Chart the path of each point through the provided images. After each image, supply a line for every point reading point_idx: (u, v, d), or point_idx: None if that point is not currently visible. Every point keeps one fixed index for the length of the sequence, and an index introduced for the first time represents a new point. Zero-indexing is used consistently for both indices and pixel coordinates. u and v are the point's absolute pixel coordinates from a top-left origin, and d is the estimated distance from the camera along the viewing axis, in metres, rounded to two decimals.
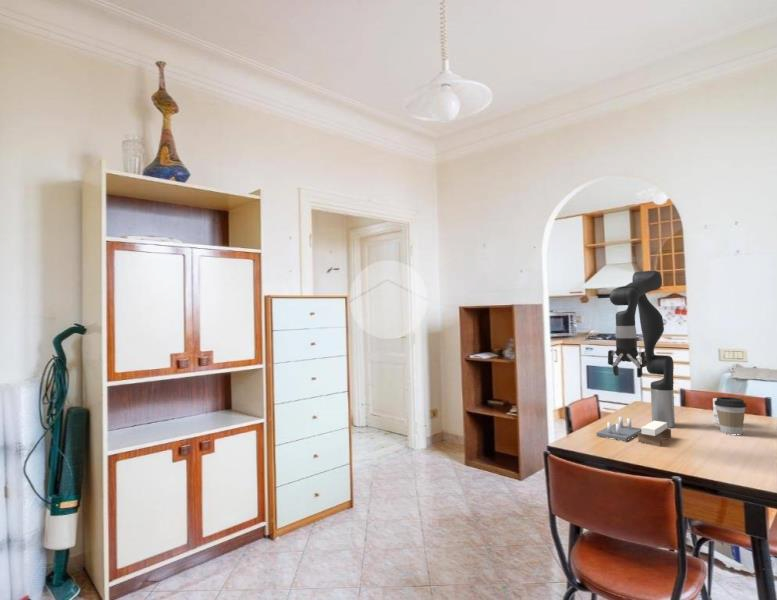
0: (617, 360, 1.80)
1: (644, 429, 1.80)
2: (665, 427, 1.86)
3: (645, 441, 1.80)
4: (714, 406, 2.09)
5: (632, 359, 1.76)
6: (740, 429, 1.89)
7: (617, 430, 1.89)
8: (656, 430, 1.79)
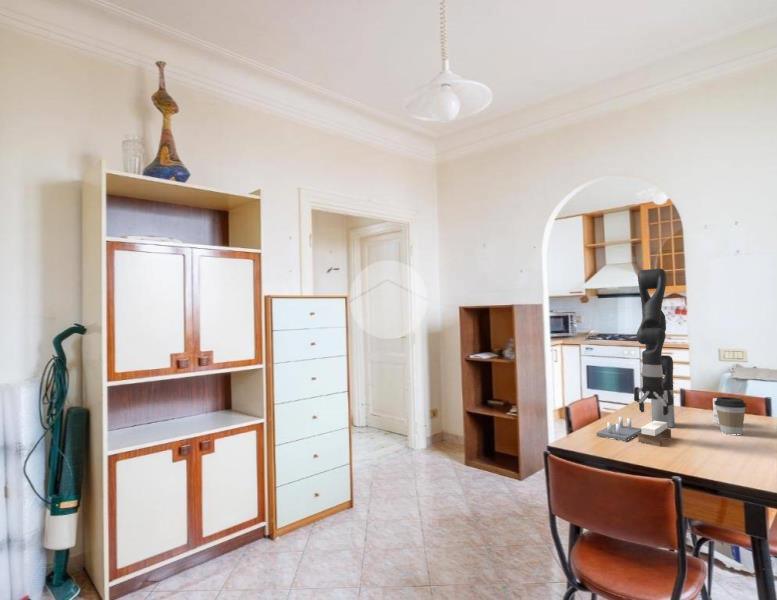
0: (643, 397, 1.86)
1: (644, 429, 1.80)
2: (665, 427, 1.86)
3: (645, 441, 1.80)
4: (714, 406, 2.09)
5: (658, 397, 1.82)
6: (740, 429, 1.89)
7: (617, 430, 1.89)
8: (656, 430, 1.79)
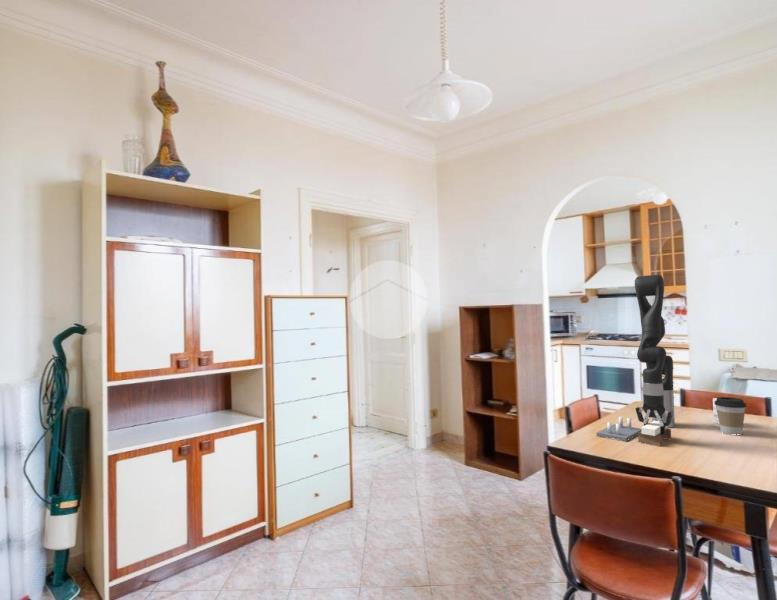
0: (646, 417, 1.85)
1: (644, 429, 1.80)
2: (665, 427, 1.86)
3: (645, 441, 1.80)
4: (714, 406, 2.09)
5: (658, 416, 1.82)
6: (740, 429, 1.89)
7: (617, 430, 1.89)
8: (656, 430, 1.79)
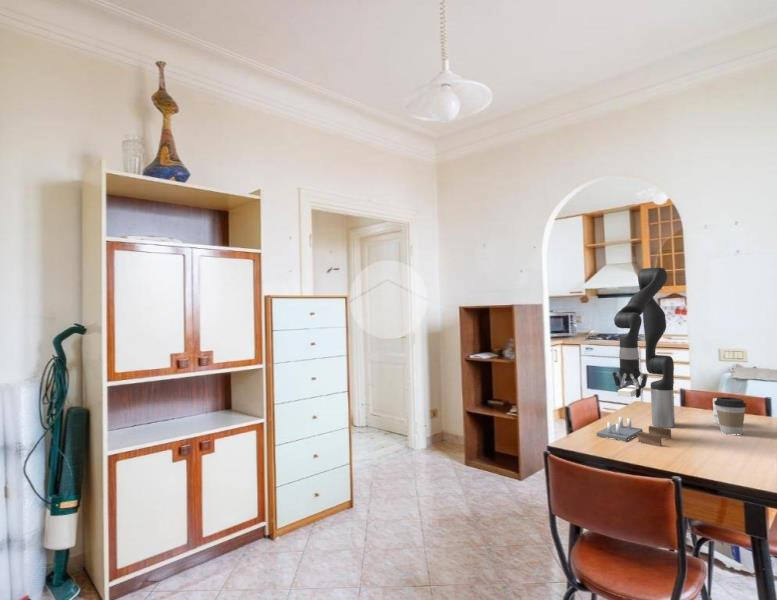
0: (623, 381, 1.92)
1: (620, 391, 1.87)
2: (641, 391, 1.93)
3: (645, 441, 1.80)
4: (714, 406, 2.09)
5: (633, 379, 1.89)
6: (740, 429, 1.89)
7: (617, 430, 1.89)
8: (632, 392, 1.85)
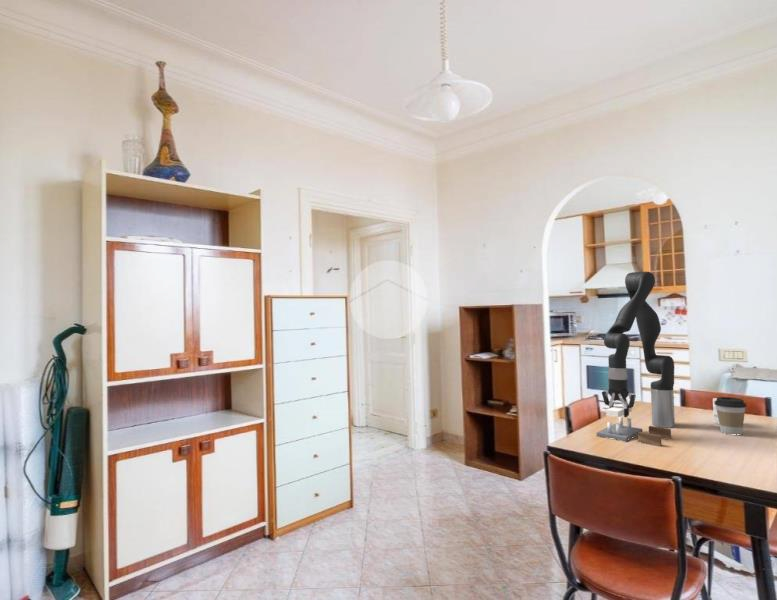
0: (611, 400, 1.96)
1: (608, 411, 1.91)
2: (629, 410, 1.97)
3: (645, 441, 1.80)
4: (714, 406, 2.09)
5: (622, 399, 1.92)
6: (740, 429, 1.89)
7: (617, 430, 1.89)
8: (619, 412, 1.89)
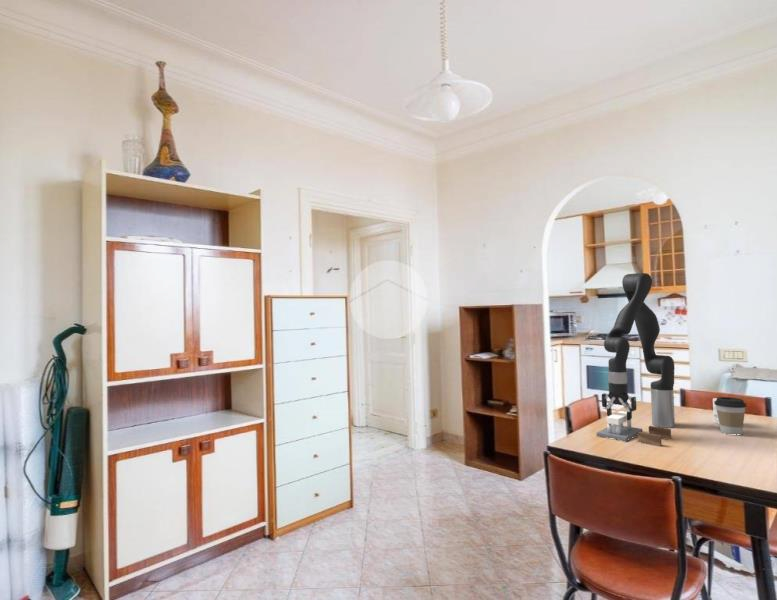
0: (610, 403, 1.96)
1: (609, 419, 1.90)
2: None
3: (645, 441, 1.80)
4: (714, 406, 2.09)
5: (623, 403, 1.92)
6: (740, 429, 1.89)
7: (617, 430, 1.89)
8: (620, 419, 1.89)
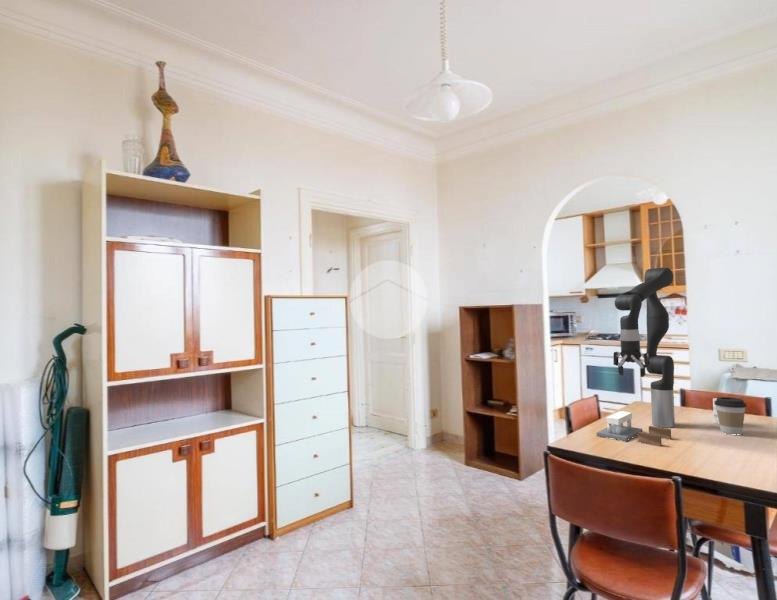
0: (622, 361, 1.95)
1: (609, 419, 1.90)
2: (630, 417, 1.97)
3: (645, 441, 1.80)
4: (714, 406, 2.09)
5: (636, 360, 1.91)
6: (740, 429, 1.89)
7: (617, 430, 1.89)
8: (620, 419, 1.89)
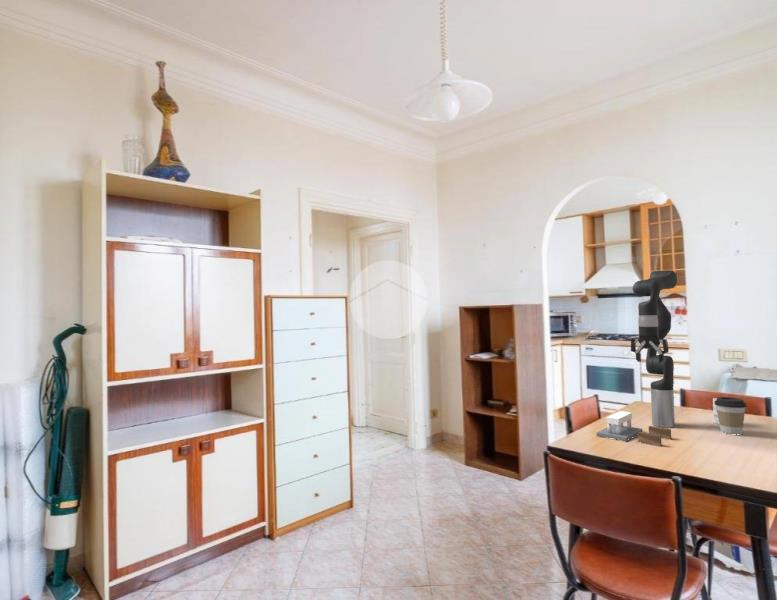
0: (640, 347, 1.94)
1: (609, 419, 1.90)
2: (630, 417, 1.97)
3: (645, 441, 1.80)
4: (714, 406, 2.09)
5: (654, 346, 1.89)
6: (740, 429, 1.89)
7: (617, 430, 1.89)
8: (620, 419, 1.89)
